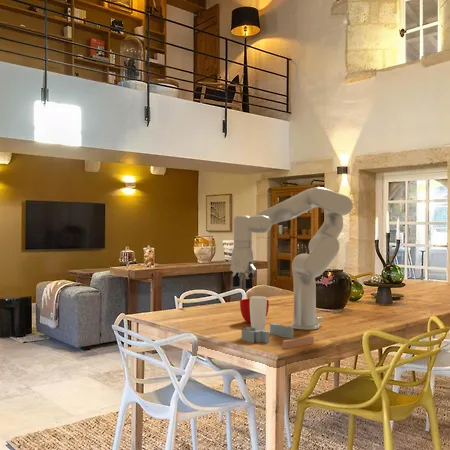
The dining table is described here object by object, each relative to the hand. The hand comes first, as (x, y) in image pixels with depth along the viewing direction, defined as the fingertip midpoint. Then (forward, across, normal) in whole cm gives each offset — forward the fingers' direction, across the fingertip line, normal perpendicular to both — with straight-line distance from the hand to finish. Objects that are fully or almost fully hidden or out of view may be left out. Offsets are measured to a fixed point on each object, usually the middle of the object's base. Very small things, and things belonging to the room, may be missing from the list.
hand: (242, 287), depth 214 cm
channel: (+18, +22, -2) cm, 29 cm away
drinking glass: (+18, +10, 0) cm, 21 cm away
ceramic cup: (+18, -12, +16) cm, 27 cm away
